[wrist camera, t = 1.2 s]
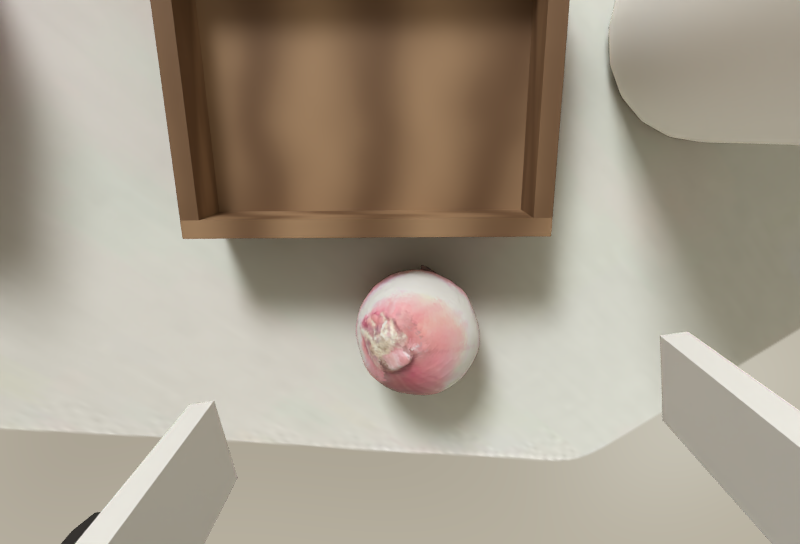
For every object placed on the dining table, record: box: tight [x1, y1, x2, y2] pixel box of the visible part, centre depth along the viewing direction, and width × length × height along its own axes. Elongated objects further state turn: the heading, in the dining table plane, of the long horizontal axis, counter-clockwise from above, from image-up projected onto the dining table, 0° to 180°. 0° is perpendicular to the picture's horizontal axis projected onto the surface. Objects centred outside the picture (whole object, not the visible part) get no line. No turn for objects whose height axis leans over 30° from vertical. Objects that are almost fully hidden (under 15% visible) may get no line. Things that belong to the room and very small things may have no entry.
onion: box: [356, 265, 480, 395], centre depth 30 cm, size 8×8×7 cm
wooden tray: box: [150, 0, 570, 239], centre depth 27 cm, size 20×15×6 cm
